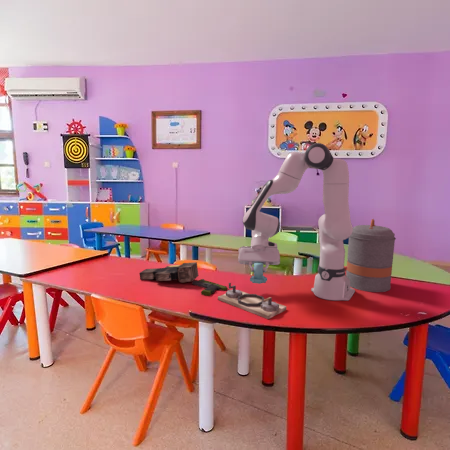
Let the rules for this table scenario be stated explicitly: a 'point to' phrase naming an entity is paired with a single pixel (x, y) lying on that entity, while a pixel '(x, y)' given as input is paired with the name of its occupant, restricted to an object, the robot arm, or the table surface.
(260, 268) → the teal gear
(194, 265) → the toy
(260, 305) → the board
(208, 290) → the gun
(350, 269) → the storage container
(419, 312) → the table surface
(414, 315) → the table surface
